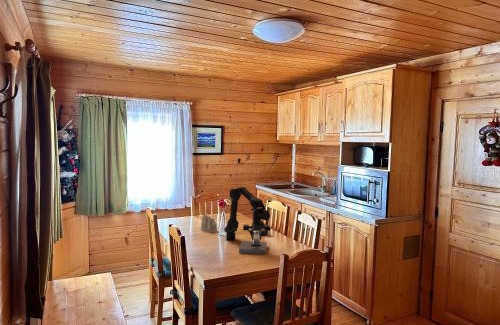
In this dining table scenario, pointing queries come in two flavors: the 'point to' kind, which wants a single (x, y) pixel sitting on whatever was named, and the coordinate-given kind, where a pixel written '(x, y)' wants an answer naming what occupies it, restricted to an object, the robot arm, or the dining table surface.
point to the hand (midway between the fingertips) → (256, 239)
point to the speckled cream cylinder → (256, 237)
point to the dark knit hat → (260, 231)
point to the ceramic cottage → (208, 224)
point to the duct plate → (253, 247)
